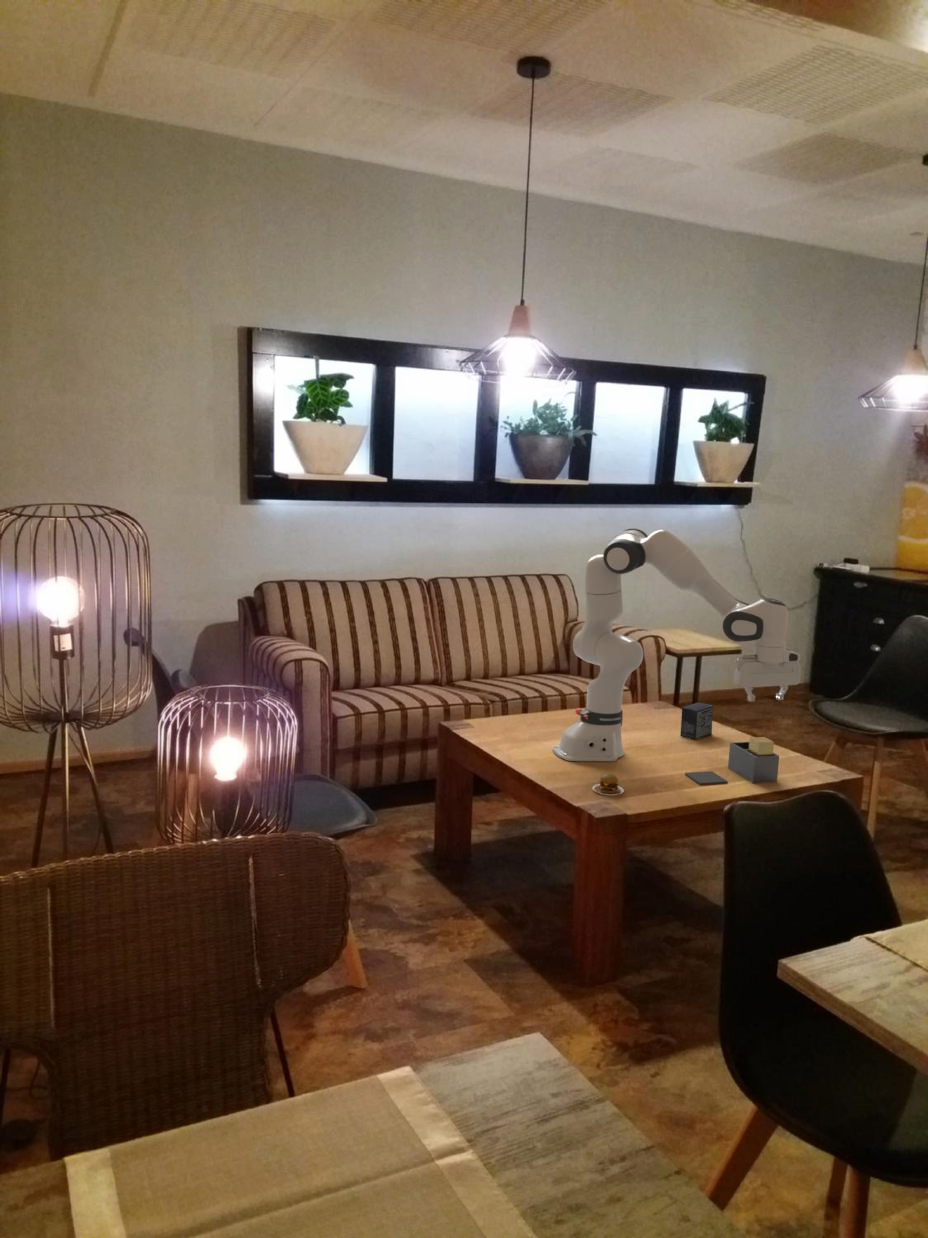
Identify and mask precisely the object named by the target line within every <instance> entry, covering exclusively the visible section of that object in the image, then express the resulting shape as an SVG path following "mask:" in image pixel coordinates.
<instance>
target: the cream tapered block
mask: <svg viewBox="0 0 928 1238" xmlns="http://www.w3.org/2000/svg"><path fill="white" fill-rule="evenodd" d="M748 742H749V752H750V753H751V754H753V755H755V756H757V757H760V756H773V753H774V746H775V741H773V740H771V739H770V738H767V737H765V736H761V737H759V736H757V737H749V741H748Z"/></svg>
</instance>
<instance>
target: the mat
mask: <svg viewBox="0 0 928 1238" xmlns="http://www.w3.org/2000/svg"><path fill="white" fill-rule="evenodd" d="M684 776H686V777H688V778H689V779H691V780H692V781H693V782H694V783H696V784H698V785H699V786H703V785H705V786H708V785H723V784H728V780H727V779H724V777H722V776H720V775H718V774H717V773H716V772H714V771H713V770H711V771H710V770H709V771H708V770H707V771H695V772H692V771H691V772H685V773H684Z"/></svg>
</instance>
